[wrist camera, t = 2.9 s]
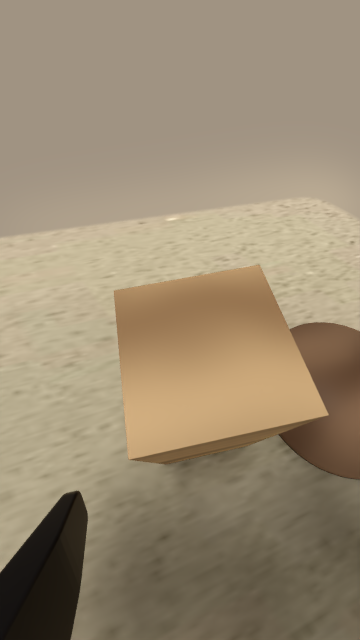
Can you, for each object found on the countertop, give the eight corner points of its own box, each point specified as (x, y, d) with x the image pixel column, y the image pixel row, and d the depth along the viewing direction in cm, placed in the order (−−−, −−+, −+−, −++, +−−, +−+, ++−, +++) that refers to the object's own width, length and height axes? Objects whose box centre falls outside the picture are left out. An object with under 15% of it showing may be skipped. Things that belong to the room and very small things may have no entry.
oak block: (246, 446, 18) (328, 414, 7) (166, 464, 17) (128, 460, 7) (223, 369, 20) (259, 264, 10) (154, 383, 20) (113, 290, 9)
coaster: (442, 386, 19) (448, 384, 19) (380, 524, 15) (385, 526, 15) (306, 302, 23) (308, 299, 22) (229, 396, 19) (230, 394, 19)
